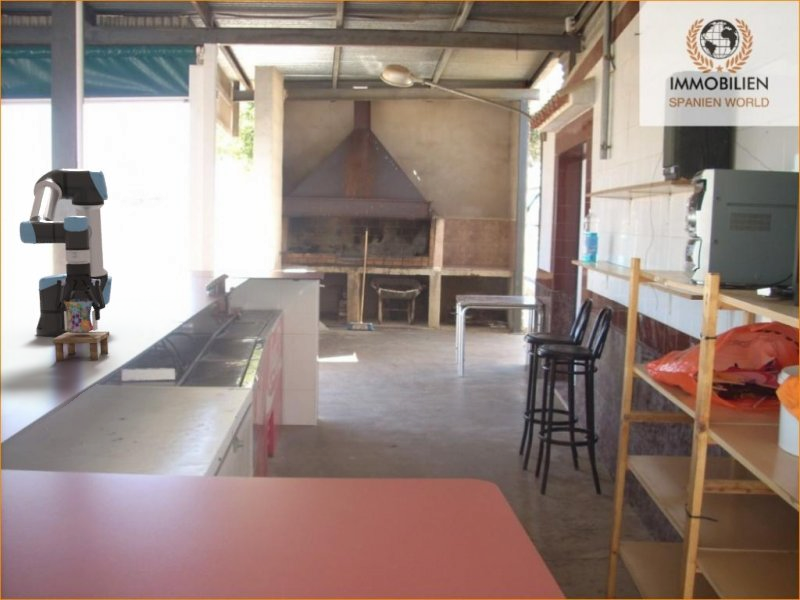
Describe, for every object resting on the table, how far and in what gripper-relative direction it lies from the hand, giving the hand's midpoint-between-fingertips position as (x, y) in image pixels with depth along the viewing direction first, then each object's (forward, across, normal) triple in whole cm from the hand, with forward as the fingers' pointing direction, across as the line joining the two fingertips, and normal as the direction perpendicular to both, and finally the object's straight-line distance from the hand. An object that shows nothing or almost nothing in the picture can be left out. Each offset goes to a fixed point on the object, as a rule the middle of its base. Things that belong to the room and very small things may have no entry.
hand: (81, 329), depth 257 cm
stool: (+9, 0, 0) cm, 9 cm away
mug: (+1, 0, 0) cm, 1 cm away
